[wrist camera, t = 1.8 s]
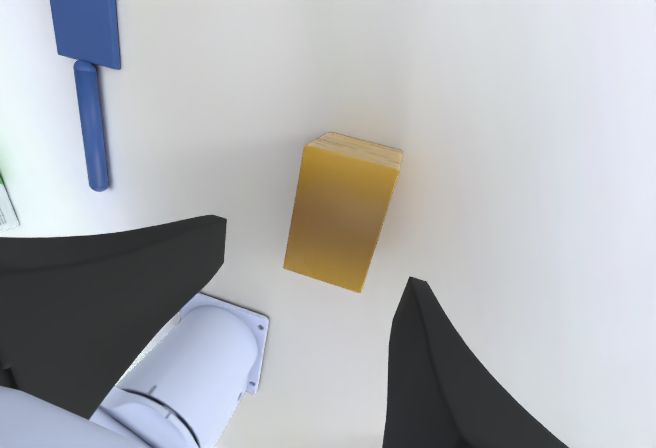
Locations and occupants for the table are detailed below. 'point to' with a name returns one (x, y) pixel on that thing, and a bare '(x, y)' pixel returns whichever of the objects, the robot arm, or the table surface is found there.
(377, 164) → the block
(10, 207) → the ink box
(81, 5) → the spatula
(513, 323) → the table surface
